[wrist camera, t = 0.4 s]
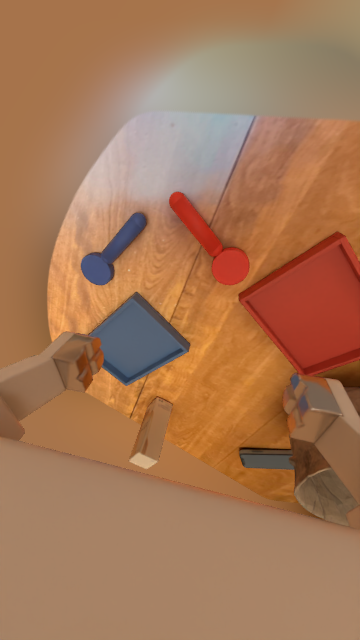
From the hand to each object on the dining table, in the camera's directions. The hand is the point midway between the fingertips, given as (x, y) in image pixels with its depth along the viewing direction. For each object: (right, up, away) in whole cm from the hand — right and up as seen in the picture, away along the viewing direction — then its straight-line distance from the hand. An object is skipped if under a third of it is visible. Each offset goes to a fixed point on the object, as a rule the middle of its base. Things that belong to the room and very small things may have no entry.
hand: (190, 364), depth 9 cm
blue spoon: (-10, +12, +21) cm, 26 cm away
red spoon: (+3, +12, +18) cm, 22 cm away
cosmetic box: (-5, -19, +42) cm, 46 cm away
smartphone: (+23, -32, +45) cm, 60 cm away
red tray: (+19, +3, +21) cm, 29 cm away
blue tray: (-9, -2, +31) cm, 33 cm away
